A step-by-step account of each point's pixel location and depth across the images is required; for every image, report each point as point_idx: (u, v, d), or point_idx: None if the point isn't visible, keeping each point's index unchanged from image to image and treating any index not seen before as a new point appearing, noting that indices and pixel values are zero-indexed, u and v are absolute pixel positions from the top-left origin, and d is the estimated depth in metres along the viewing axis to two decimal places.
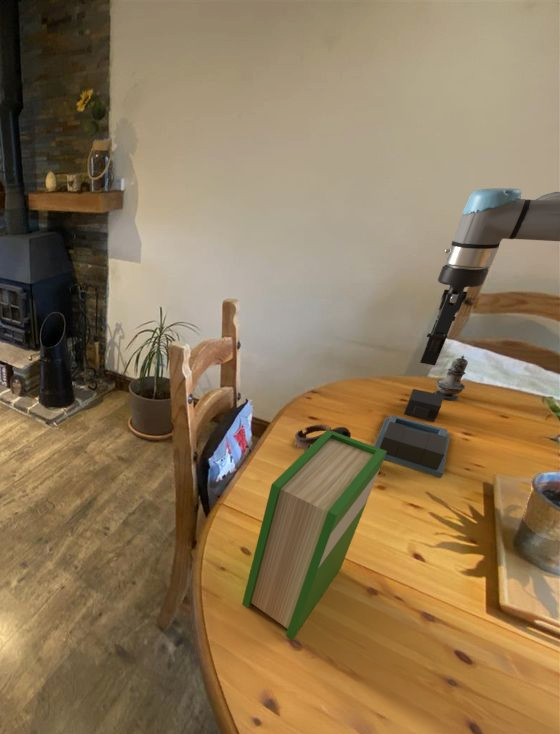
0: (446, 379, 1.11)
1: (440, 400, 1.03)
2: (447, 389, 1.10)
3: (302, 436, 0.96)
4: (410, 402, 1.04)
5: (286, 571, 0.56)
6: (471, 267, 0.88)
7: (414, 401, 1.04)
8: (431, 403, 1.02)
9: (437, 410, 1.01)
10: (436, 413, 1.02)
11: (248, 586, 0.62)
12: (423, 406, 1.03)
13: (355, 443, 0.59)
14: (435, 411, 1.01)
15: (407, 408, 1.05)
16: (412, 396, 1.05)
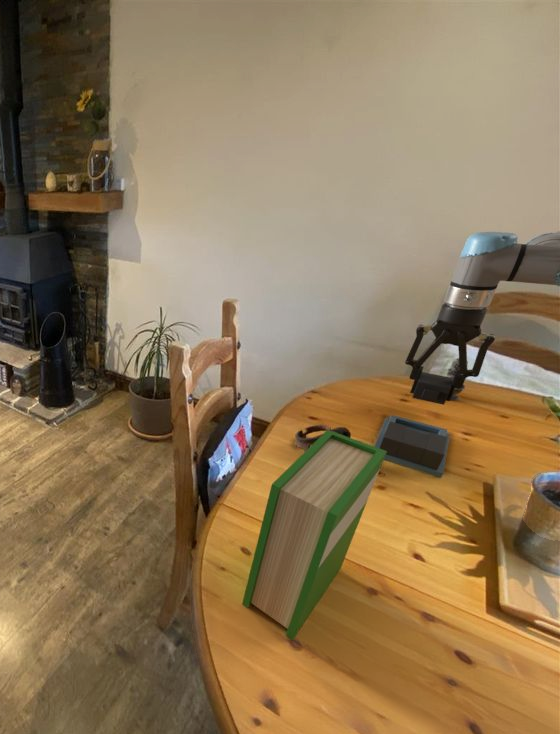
0: None
1: (450, 382, 1.00)
2: None
3: (302, 436, 0.96)
4: (419, 385, 1.02)
5: (286, 571, 0.56)
6: None
7: (423, 384, 1.01)
8: (441, 385, 0.99)
9: (447, 392, 0.99)
10: (446, 395, 0.99)
11: (248, 586, 0.62)
12: (432, 389, 1.00)
13: (355, 443, 0.59)
14: (445, 393, 0.99)
15: (416, 391, 1.03)
16: (420, 379, 1.03)
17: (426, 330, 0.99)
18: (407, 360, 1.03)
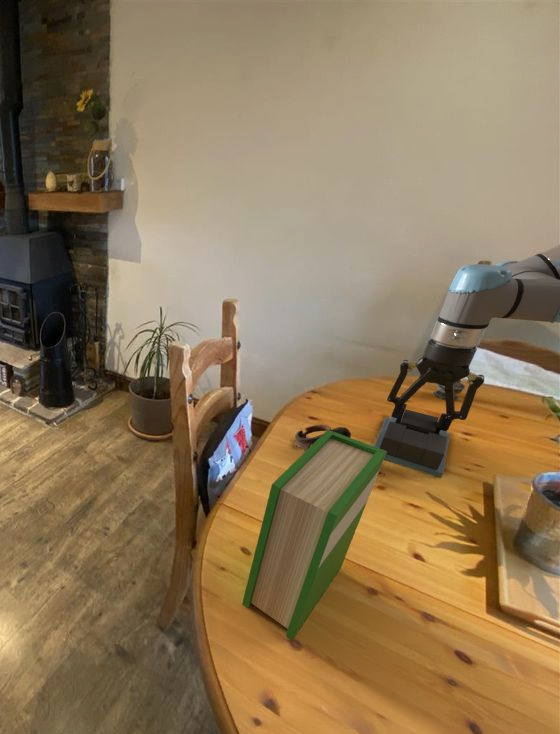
0: None
1: (435, 423, 0.92)
2: None
3: (302, 436, 0.96)
4: None
5: (286, 571, 0.56)
6: None
7: (406, 424, 0.93)
8: (425, 426, 0.92)
9: None
10: None
11: (248, 586, 0.62)
12: (416, 430, 0.92)
13: (355, 443, 0.59)
14: None
15: None
16: (404, 419, 0.95)
17: (411, 367, 0.91)
18: (389, 397, 0.96)
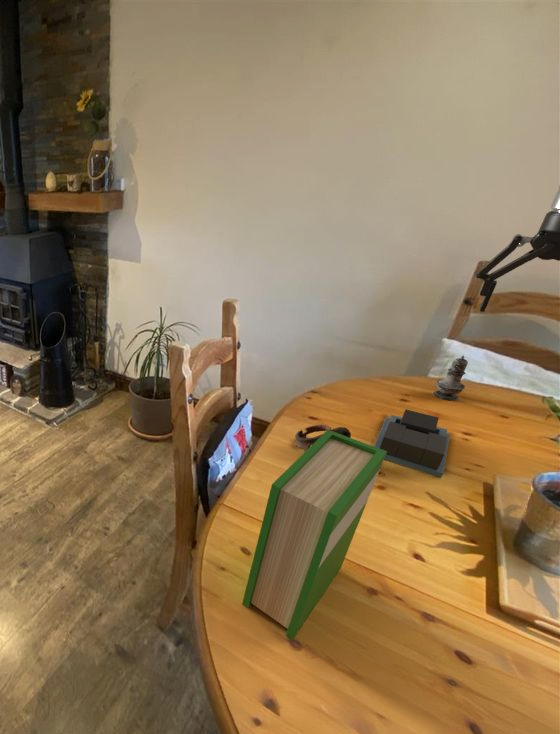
0: (446, 379, 1.11)
1: (435, 423, 0.92)
2: (447, 389, 1.10)
3: (302, 436, 0.96)
4: None
5: (286, 571, 0.56)
6: None
7: (406, 424, 0.93)
8: (425, 426, 0.92)
9: None
10: None
11: (248, 586, 0.62)
12: (416, 430, 0.92)
13: (355, 443, 0.59)
14: None
15: None
16: (404, 419, 0.95)
17: (523, 241, 0.86)
18: (480, 273, 0.92)
